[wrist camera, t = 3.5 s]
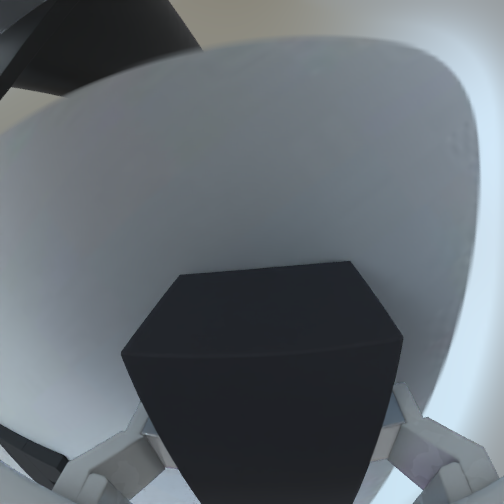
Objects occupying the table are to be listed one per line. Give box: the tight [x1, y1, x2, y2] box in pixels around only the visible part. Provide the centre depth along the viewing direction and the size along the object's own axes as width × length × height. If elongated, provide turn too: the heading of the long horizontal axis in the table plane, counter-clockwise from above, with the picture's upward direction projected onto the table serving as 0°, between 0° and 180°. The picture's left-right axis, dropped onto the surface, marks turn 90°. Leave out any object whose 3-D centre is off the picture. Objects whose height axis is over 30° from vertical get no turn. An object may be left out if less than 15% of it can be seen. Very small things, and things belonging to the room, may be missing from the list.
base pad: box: [0, 425, 69, 491], centre depth 16 cm, size 16×10×2 cm, turn 6°
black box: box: [121, 261, 403, 504], centre depth 7 cm, size 5×8×4 cm, turn 6°
